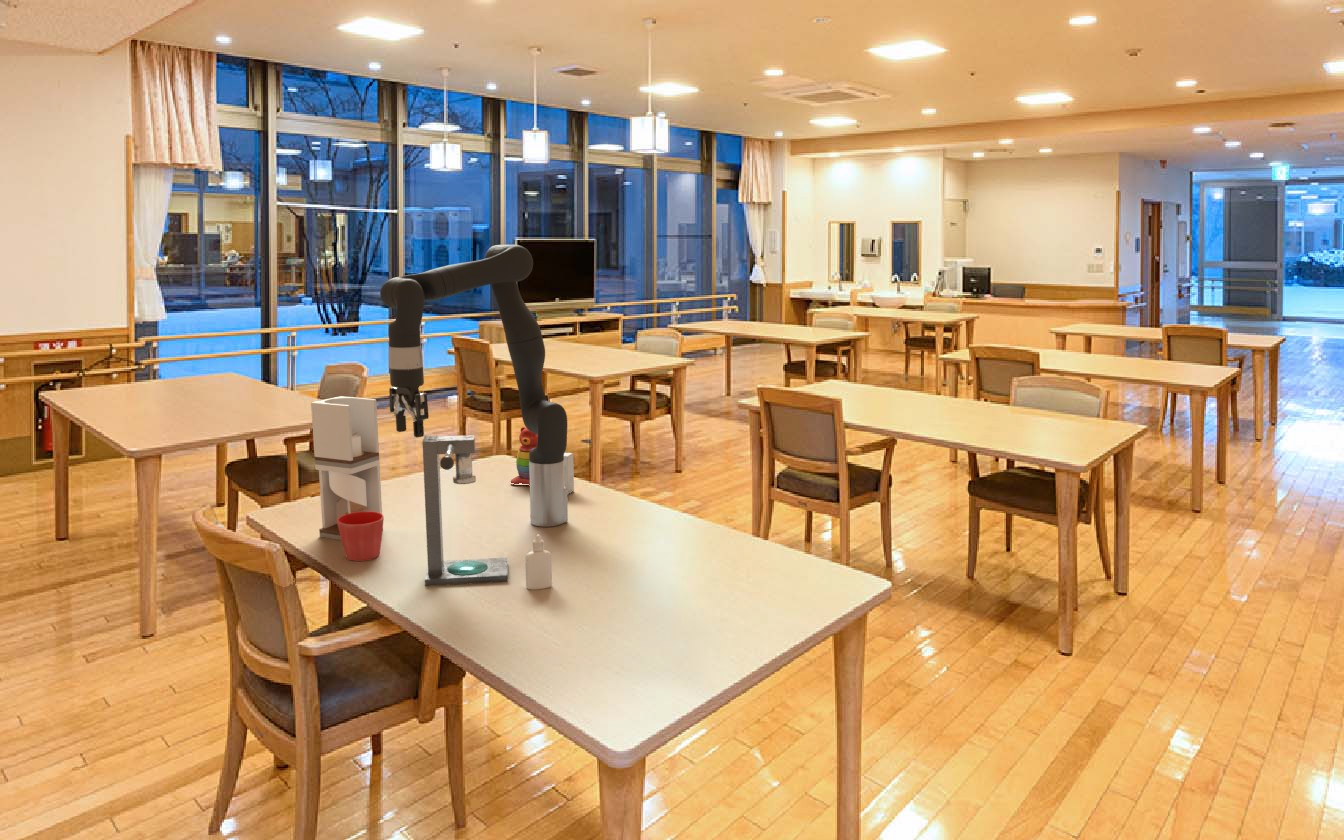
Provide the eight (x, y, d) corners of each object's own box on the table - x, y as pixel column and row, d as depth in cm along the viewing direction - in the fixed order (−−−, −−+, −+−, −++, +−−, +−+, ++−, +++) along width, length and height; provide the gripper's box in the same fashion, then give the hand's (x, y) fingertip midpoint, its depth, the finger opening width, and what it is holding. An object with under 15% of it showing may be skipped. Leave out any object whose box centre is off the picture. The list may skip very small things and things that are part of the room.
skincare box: (574, 491, 287) (574, 453, 285) (568, 494, 283) (567, 456, 281) (556, 489, 289) (555, 451, 287) (550, 493, 285) (549, 454, 283)
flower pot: (343, 566, 221) (340, 526, 219) (336, 552, 230) (333, 514, 228) (389, 559, 225) (387, 520, 224) (380, 546, 235) (378, 508, 233)
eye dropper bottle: (529, 582, 211) (528, 531, 209) (553, 584, 210) (553, 532, 208) (523, 589, 207) (522, 537, 205) (548, 591, 206) (547, 538, 204)
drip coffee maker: (319, 536, 242) (310, 402, 235) (348, 525, 252) (340, 396, 245) (355, 542, 238) (347, 405, 231) (383, 530, 247) (376, 399, 241)
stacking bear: (507, 485, 294) (506, 429, 290) (523, 477, 303) (522, 423, 300) (538, 488, 290) (537, 432, 287) (553, 480, 299) (553, 426, 296)
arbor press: (507, 563, 223) (504, 431, 217) (507, 603, 199) (503, 455, 193) (429, 567, 220) (423, 433, 214) (420, 608, 196) (413, 458, 190)
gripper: (436, 367, 215) (439, 436, 219) (406, 361, 226) (410, 427, 229) (406, 370, 210) (409, 441, 214) (376, 364, 221) (381, 431, 224)
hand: (410, 434), depth 221 cm, fingers open, 8 cm apart
